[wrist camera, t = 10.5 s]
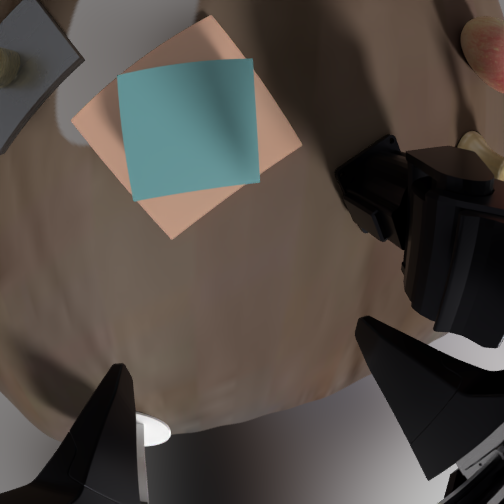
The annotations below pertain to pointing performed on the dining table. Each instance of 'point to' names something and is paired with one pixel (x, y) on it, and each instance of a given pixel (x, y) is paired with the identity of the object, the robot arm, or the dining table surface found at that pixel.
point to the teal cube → (189, 127)
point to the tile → (168, 53)
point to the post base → (30, 65)
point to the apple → (485, 49)
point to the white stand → (147, 435)
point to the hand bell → (483, 153)
